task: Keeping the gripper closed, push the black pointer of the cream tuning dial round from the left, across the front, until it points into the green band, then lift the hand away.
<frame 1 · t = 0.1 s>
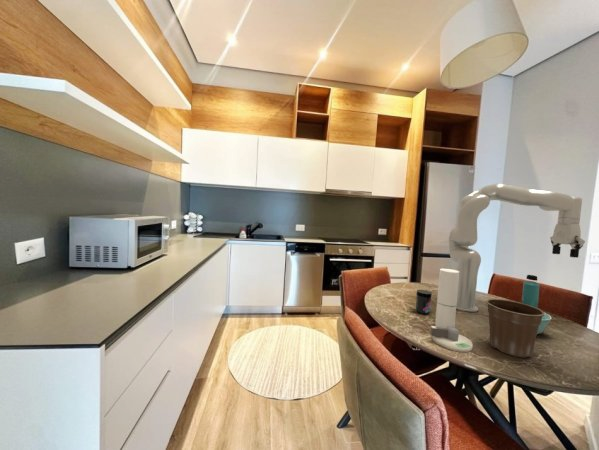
hand: (564, 255, 126), 31 cm above the table, tool pointing down, fingers open, 9 cm apart
bowl: (524, 330, 110), on the table
friction peg: (444, 332, 95), point 4 cm above the table, hinge at -140.0°
supplement container: (422, 312, 124), on the table
dial plate: (451, 342, 95), on the table
beverage bottle: (528, 313, 129), on the table
plant pot: (509, 349, 93), on the table
cylindrical container: (444, 328, 107), on the table
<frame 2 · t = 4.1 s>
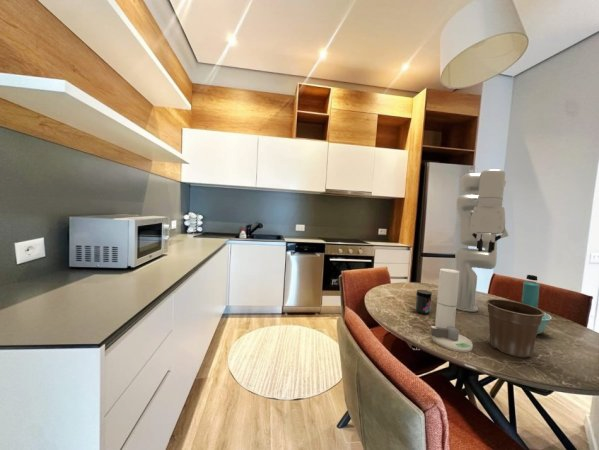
hand: (485, 251, 95), 35 cm above the table, tool pointing down, fingers closed
nothing on the table moved.
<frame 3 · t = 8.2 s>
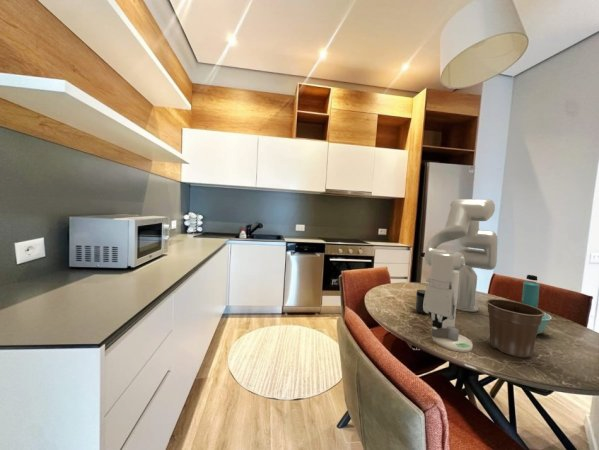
hand: (436, 330, 98), 3 cm above the table, tool pointing down, fingers closed
friction peg: (444, 332, 95), point 4 cm above the table, hinge at -135.5°, touching gripper
everything else where it was.
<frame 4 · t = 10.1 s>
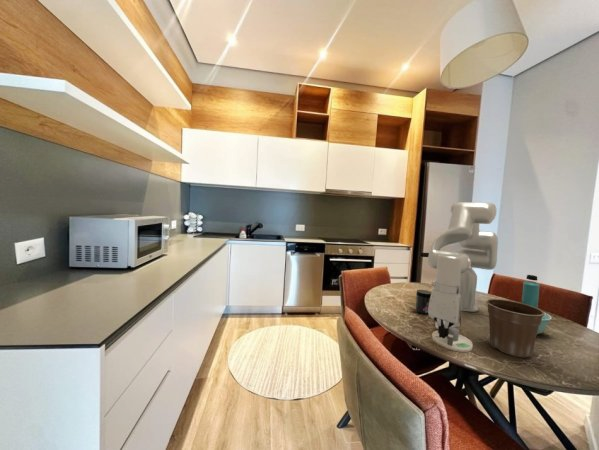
hand: (442, 336, 93), 3 cm above the table, tool pointing down, fingers closed
friction peg: (451, 336, 93), point 4 cm above the table, hinge at -79.4°, touching gripper
everything else where it was.
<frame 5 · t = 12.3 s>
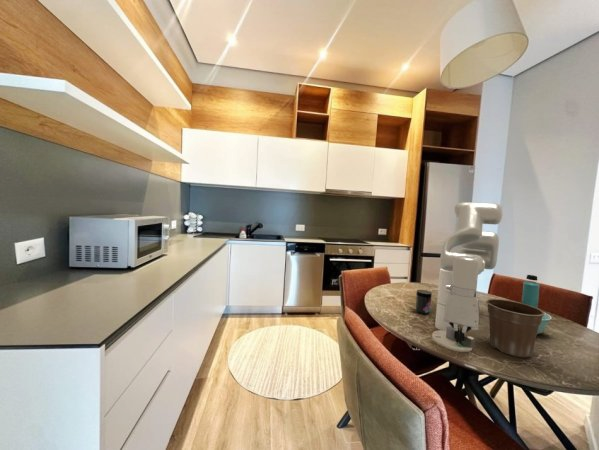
hand: (458, 341, 90), 3 cm above the table, tool pointing down, fingers closed
friction peg: (459, 336, 92), point 4 cm above the table, hinge at -21.4°
everything else where it was.
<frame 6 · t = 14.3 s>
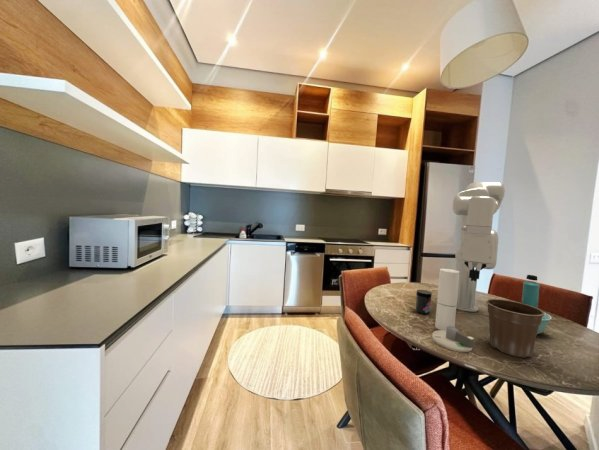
hand: (473, 280, 92), 25 cm above the table, tool pointing down, fingers closed
nothing on the table moved.
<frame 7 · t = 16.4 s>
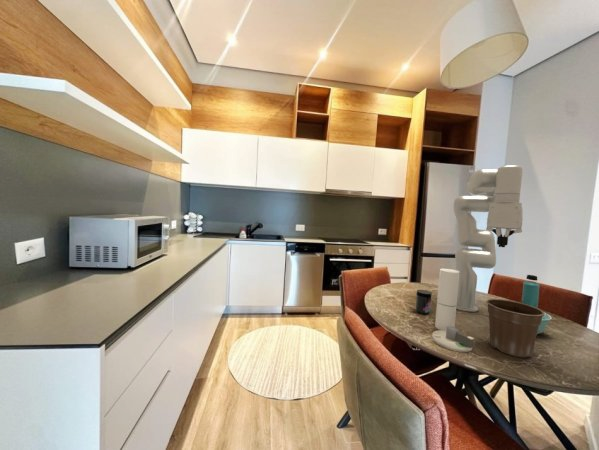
hand: (501, 246, 96), 37 cm above the table, tool pointing down, fingers closed
nothing on the table moved.
at the end: friction peg at -21° (first picture: -140°) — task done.
